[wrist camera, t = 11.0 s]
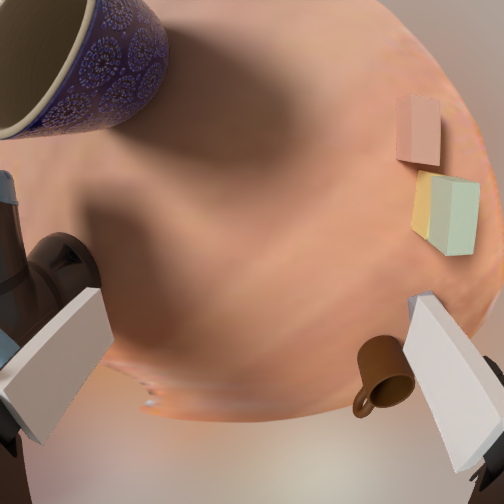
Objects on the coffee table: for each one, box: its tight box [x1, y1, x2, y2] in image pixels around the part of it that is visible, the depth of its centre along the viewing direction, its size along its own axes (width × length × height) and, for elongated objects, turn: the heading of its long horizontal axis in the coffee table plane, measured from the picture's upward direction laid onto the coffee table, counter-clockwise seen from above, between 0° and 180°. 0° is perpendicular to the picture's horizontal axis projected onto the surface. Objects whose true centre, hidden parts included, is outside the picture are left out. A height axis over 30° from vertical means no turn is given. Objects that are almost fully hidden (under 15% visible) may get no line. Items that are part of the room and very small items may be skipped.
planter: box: [0, 0, 169, 140], centre depth 23 cm, size 18×18×21 cm
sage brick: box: [428, 176, 480, 256], centre depth 28 cm, size 8×4×5 cm, turn 5°
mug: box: [353, 336, 415, 418], centre depth 40 cm, size 12×8×9 cm, turn 154°
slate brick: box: [408, 290, 443, 324], centre depth 38 cm, size 8×4×5 cm, turn 20°
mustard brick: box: [411, 170, 451, 240], centre depth 32 cm, size 8×4×5 cm, turn 179°
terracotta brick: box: [396, 94, 441, 166], centre depth 29 cm, size 8×4×5 cm, turn 1°
